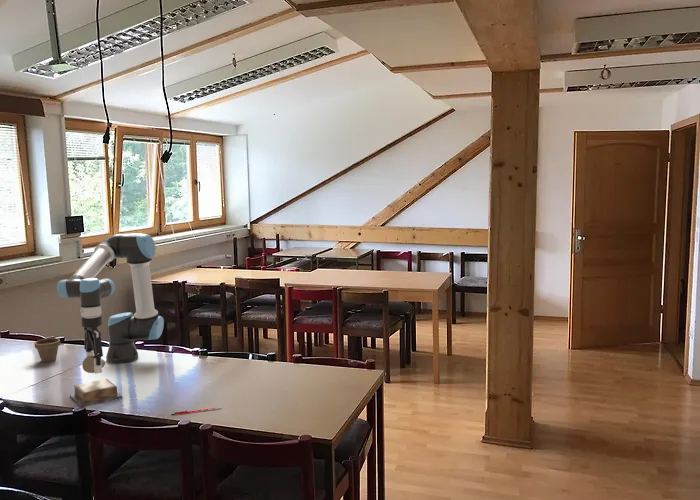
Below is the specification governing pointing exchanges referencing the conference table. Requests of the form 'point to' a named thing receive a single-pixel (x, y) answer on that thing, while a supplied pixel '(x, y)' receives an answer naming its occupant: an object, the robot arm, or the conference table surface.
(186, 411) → the pen
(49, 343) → the flower pot
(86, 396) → the plinth
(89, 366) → the beige stepped cylinder
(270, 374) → the conference table surface
